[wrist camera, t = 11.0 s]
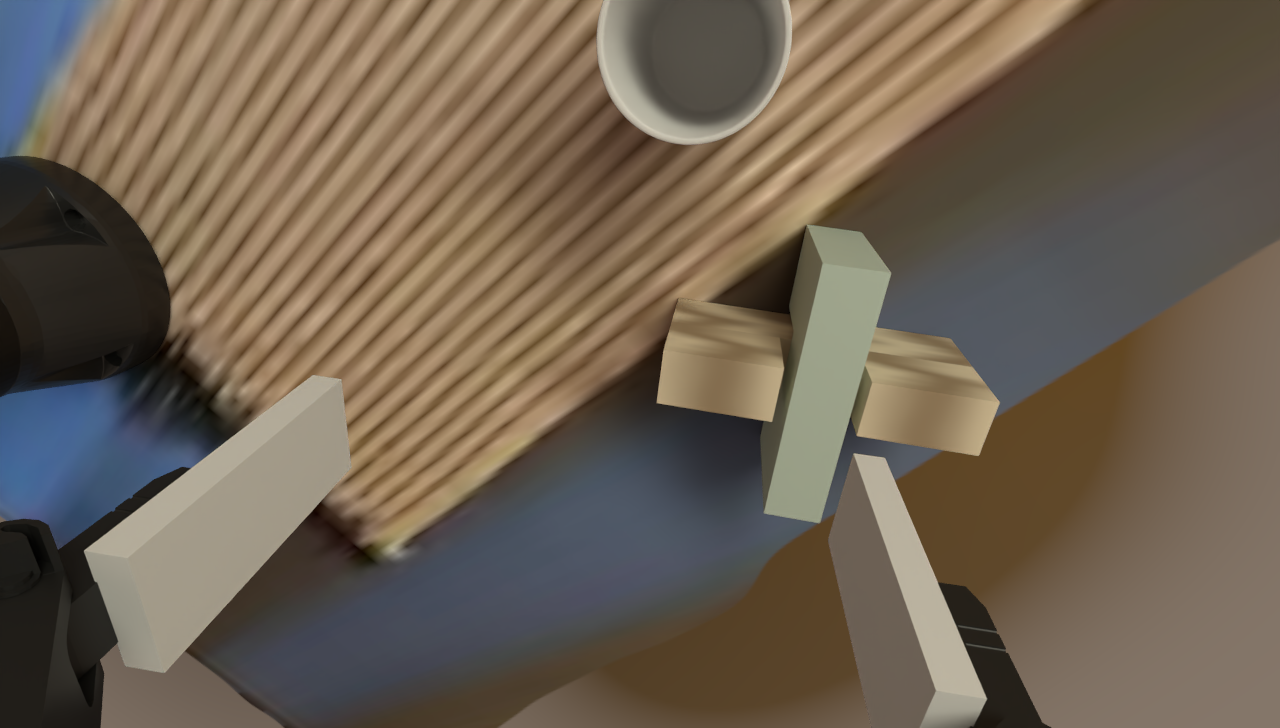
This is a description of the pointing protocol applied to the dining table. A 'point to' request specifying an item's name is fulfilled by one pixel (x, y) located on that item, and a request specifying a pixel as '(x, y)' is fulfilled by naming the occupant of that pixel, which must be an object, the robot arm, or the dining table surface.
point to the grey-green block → (821, 368)
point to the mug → (692, 63)
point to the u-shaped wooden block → (888, 391)
